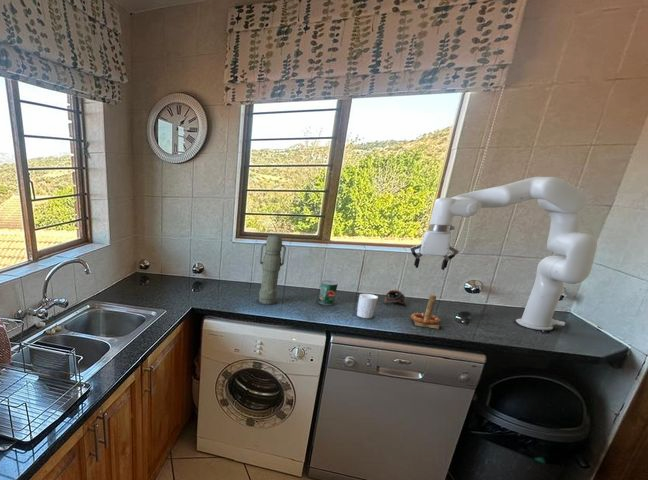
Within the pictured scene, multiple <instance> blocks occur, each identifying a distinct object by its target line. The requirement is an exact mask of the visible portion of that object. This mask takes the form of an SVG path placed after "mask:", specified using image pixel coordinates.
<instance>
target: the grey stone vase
mask: <svg viewBox="0 0 648 480" xmlns="http://www.w3.org/2000/svg"><path fill="white" fill-rule="evenodd" d="M264 246H265V253H264V256H263V252H264ZM282 248H283V253H281V252H282ZM260 251H261V252H260V258H259V264H260V265H262V267H261V268H262V276H261V285H260V288H259V292H258V303H260V304H263V305H276V304H277V303H276V302H277V301H276V300H277V297H278V289H277V288H278V281H279V280H278V279H279V272H280V271H281V267H282V266H284V264H285V258H286V251H287V247H286V245H285V244H283V238H282V235H281V234H278V233H271V234H268V236H267V238H266V243H263V244H262V245H261V250H260ZM281 255H282V257H281Z"/></svg>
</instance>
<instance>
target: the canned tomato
mask: <svg viewBox="0 0 648 480" xmlns="http://www.w3.org/2000/svg"><path fill="white" fill-rule="evenodd" d="M338 285H339V282H337V281H333V280H321V282H320V288H319V294H318V300H317V303H318V304H321V305H323V306H324V305H325V306H333V305H335V301H336V295H337V291H338Z"/></svg>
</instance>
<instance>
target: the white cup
mask: <svg viewBox="0 0 648 480" xmlns="http://www.w3.org/2000/svg"><path fill="white" fill-rule="evenodd" d="M378 300H379V296H378V295H375V294H371V293H360V294H359V295H358V301H357V308H356V316H357V317H358V318H363V319H372V318H373V316H374V313H375V310H376V306H377V303H378Z"/></svg>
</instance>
